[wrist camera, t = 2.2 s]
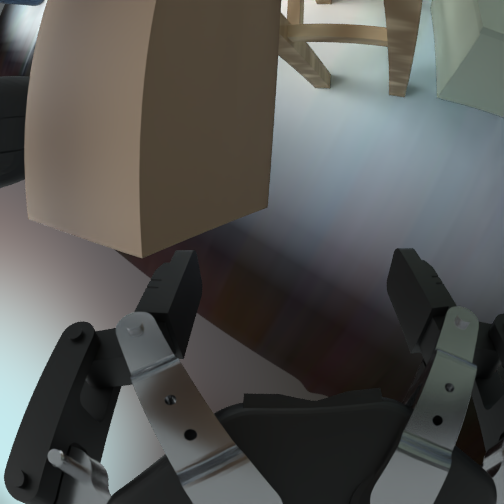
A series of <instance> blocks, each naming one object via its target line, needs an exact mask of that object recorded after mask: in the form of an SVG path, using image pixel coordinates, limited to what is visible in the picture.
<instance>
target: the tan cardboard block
mask: <svg viewBox="0 0 504 504" xmlns="http://www.w3.org/2000/svg"><path fill="white" fill-rule="evenodd" d="M280 12H281V0H48V1H47V4H46V7H45V10H44V14H43V17H42V21H41V25H40V28H39V33H38V37H37V41H36V46H35V50H34V56H33V61H32V67H31V73H30V80H29V87H28V96H27V106H26V119H25V145H24V161H25V188H26V201H27V212H28V219H30V220H32V221H35V222H38V223H41V224H43V225H47V226H49V227H52V228H54V229H57V230H60V231H63V232H66V233H69V234H71V235H74V236H77V237H80V238H83V239H86V240H89V241H92V242H95V243H98V244H101V245H104V246H107V247H110V248H113V249H116V250H119V251H122V252H125V253H128V254H131V255H134V256H137V257H140V258H144V257H146V256H148V255H151V254H153V253H155V252H158V251H160V250H162V249H165V248H167V247H170V246H172V245H174V244H177V243H179V242H182V241H184V240H186V239H189V238H191V237H194V236H196V235H199V234H201V233H203V232H206V231H208V230H211V229H213V228H216V227H218V226H221V225H223V224H226V223H228V222H231V221H233V220H236V219H239V218H241V217H244V216H246V215H249V214H251V213H254V212H256V211H259V210H262V209H264V208H267V207H268V195H269V182H270V169H271V155H272V141H273V126H274V111H275V96H276V81H277V65H278V48H279V30H280Z"/></svg>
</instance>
